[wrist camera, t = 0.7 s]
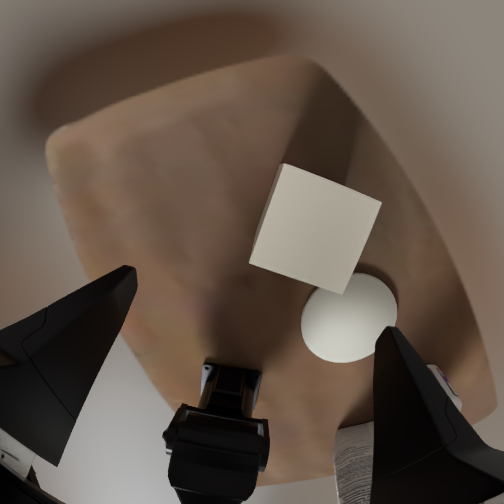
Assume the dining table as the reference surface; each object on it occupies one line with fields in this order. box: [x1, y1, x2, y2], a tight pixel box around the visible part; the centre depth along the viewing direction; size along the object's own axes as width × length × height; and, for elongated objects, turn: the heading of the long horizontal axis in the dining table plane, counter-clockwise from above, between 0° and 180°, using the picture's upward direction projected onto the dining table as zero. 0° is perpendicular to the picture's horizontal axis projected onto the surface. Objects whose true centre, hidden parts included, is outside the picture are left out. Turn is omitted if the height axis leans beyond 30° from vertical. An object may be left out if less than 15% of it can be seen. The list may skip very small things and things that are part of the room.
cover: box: [249, 163, 382, 295], centre depth 21 cm, size 6×6×10 cm
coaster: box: [301, 273, 397, 363], centre depth 28 cm, size 10×10×1 cm
